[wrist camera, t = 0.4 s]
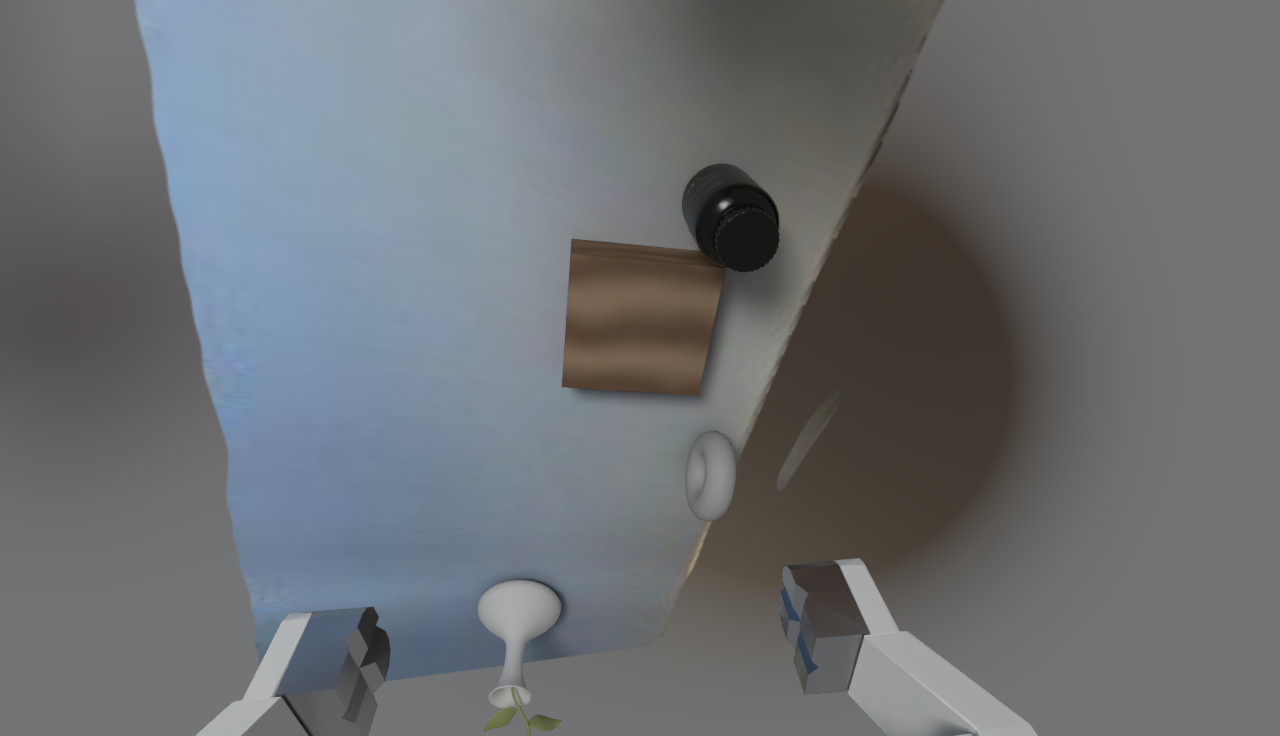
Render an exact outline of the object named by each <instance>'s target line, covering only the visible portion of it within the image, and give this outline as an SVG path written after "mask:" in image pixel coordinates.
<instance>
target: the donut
mask: <svg viewBox="0 0 1280 736" xmlns="http://www.w3.org/2000/svg"><path fill="white" fill-rule="evenodd" d="M736 471H737V469H736V458H735V453H734V449H733V446H732V444H731V443H730V441H729V439H728V438H727V437H726V436H725V435H723V434H722V433H720V432H718V431H708V432H705V433H703V434H701V435H700V436H699V437H698V438H697V439H696V441H695V442H694V444H693V446H692V449H691V451H690V454H689V457H688V462H687V468H686V479H685V485H686V496H687V501H688V504H689V507H690V509H691V511H692V512H693V513H694V514H695V516H696V517H698V518H699V519H701V520H705V521H714V520H716V519H718V518H720V517H721V516H722V515H723V514H724V513H725V512H726V511H727V509H728V507H729V505H730V503H731V500H732V497H733V494H734V490H735V484H736Z"/></svg>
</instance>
